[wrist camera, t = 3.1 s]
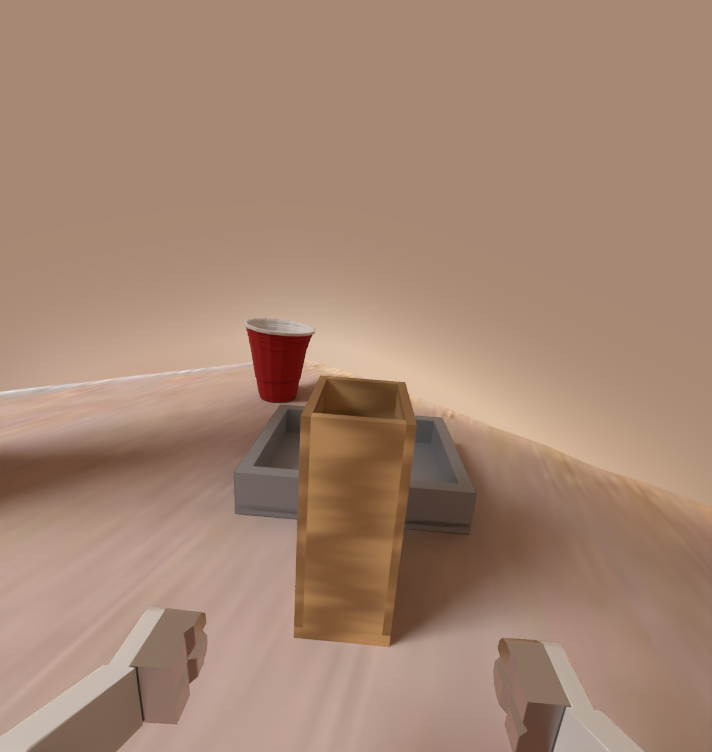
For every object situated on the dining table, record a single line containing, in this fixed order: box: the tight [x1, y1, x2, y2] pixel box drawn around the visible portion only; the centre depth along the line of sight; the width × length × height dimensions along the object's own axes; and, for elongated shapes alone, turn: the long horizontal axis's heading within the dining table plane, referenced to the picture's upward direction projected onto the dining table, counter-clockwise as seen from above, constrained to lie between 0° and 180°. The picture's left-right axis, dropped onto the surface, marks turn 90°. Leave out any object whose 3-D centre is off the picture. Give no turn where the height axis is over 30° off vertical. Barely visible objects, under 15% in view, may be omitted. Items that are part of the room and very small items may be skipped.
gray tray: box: [234, 405, 476, 534], centre depth 39 cm, size 20×16×4 cm
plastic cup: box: [244, 318, 315, 402], centre depth 59 cm, size 11×11×12 cm
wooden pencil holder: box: [294, 376, 417, 647], centre depth 23 cm, size 6×7×14 cm
